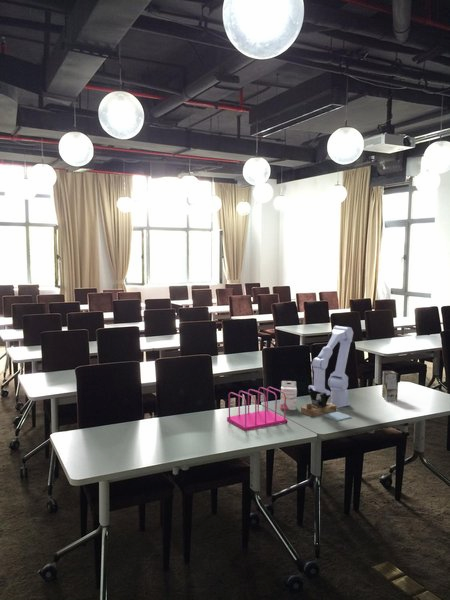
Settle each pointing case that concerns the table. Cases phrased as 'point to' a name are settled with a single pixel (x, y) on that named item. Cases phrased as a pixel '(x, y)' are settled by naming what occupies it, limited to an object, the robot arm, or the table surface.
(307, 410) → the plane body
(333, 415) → the rubber mat
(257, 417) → the file sorter
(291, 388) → the ink cartridge box
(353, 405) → the table surface
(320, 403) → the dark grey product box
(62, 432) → the table surface
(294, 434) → the table surface
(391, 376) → the coffee box
